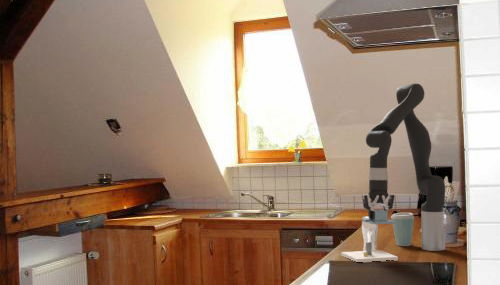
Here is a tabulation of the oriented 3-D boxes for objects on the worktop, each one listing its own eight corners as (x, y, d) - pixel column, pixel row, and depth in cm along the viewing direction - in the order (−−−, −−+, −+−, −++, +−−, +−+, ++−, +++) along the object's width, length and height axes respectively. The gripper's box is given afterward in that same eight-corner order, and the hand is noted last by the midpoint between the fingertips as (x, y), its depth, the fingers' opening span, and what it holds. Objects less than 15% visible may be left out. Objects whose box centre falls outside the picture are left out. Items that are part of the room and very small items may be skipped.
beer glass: (378, 249, 257) (378, 216, 257) (377, 252, 250) (377, 218, 250) (362, 249, 259) (362, 215, 259) (361, 251, 252) (361, 217, 252)
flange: (383, 220, 243) (383, 209, 243) (395, 223, 233) (395, 211, 233) (362, 221, 240) (362, 209, 240) (372, 224, 231) (372, 211, 231)
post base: (380, 253, 247) (380, 238, 247) (397, 260, 231) (397, 244, 231) (341, 255, 243) (341, 240, 243) (356, 262, 227) (356, 246, 227)
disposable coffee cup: (405, 247, 260) (405, 215, 261) (386, 245, 269) (386, 213, 269) (419, 245, 267) (419, 213, 267) (400, 242, 275) (399, 211, 276)
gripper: (389, 178, 242) (389, 218, 242) (358, 178, 239) (358, 218, 239) (398, 179, 235) (398, 220, 235) (366, 179, 232) (366, 220, 231)
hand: (378, 219), depth 237 cm, fingers closed on flange, 5 cm apart
